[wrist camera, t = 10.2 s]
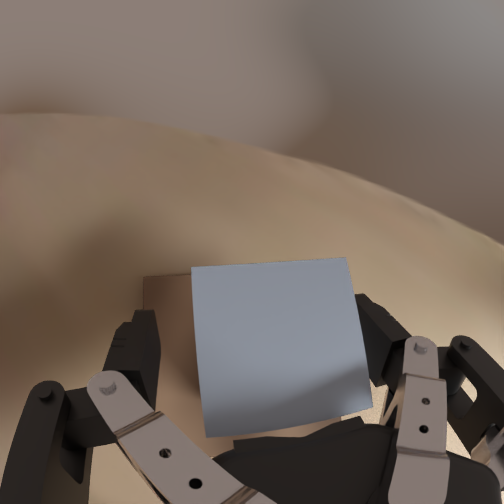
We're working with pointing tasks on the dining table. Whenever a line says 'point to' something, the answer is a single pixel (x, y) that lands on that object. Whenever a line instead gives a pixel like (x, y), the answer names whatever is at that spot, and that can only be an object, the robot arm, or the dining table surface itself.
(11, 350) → the dining table surface
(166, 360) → the board
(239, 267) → the block
